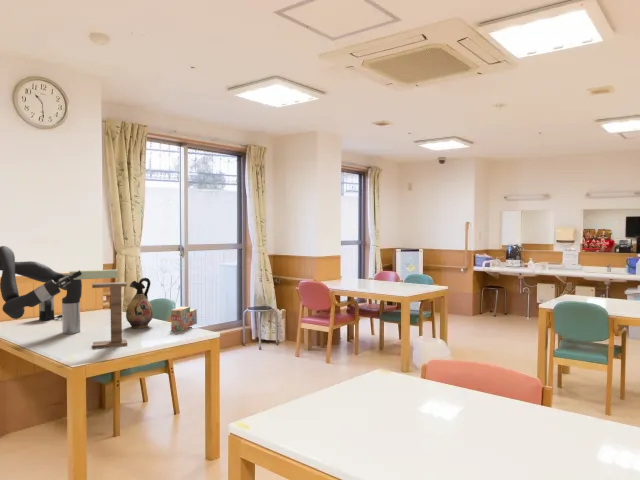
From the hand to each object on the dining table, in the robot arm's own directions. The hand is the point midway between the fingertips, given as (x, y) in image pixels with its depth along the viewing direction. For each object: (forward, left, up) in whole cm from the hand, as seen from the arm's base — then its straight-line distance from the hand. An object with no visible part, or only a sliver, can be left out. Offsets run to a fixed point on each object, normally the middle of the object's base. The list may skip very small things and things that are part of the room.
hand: (80, 272), depth 250 cm
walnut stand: (0, +13, -38) cm, 41 cm away
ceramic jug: (-41, +32, -39) cm, 65 cm away
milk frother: (-91, -17, -39) cm, 100 cm away
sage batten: (0, +6, -3) cm, 7 cm away
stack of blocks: (-30, +56, -39) cm, 75 cm away
